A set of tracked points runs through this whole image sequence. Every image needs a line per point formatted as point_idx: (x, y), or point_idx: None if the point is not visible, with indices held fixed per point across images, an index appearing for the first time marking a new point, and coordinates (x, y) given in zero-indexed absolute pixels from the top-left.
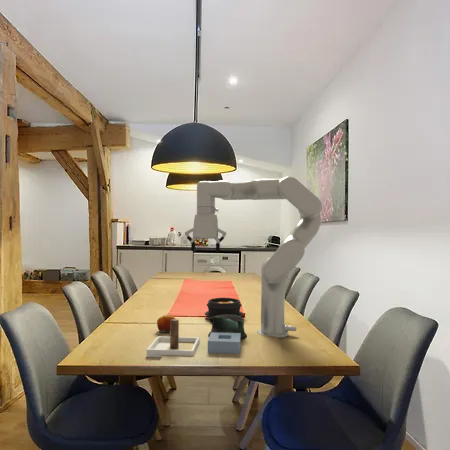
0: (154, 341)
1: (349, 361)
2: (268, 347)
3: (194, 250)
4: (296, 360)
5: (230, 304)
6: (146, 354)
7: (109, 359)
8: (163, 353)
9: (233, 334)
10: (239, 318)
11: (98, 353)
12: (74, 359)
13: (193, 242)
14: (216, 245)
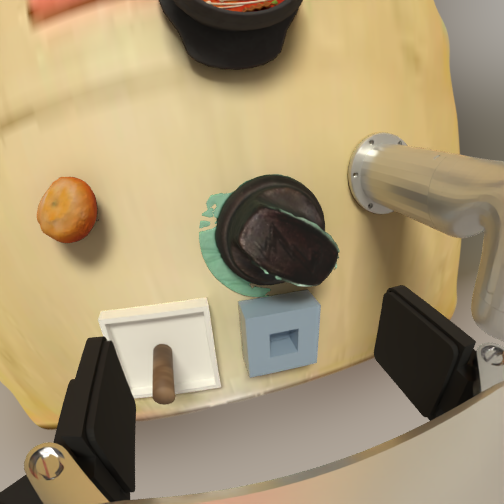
0: None
1: (452, 306)
2: (363, 277)
3: (130, 409)
4: None
5: (274, 13)
6: None
7: None
8: None
9: (303, 320)
10: (327, 253)
11: (39, 384)
12: (31, 409)
13: (109, 492)
14: (419, 404)
